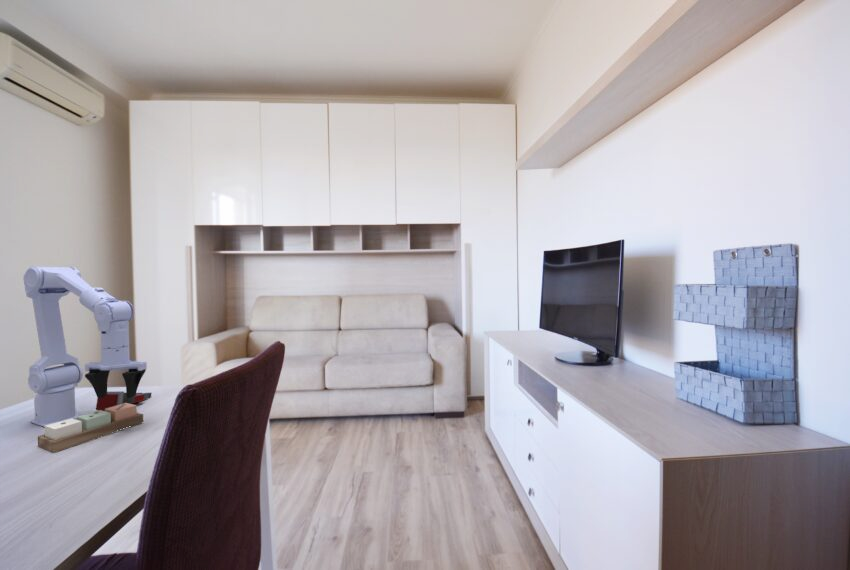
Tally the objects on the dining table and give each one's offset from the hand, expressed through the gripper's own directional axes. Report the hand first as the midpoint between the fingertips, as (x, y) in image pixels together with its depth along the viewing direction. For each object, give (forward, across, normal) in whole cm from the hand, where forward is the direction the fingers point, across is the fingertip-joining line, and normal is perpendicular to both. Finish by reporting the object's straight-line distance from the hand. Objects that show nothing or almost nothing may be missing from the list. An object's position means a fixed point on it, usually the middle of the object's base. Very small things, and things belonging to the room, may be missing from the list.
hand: (116, 396), depth 96 cm
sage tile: (+7, -4, -2) cm, 9 cm away
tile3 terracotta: (+7, -1, +3) cm, 8 cm away
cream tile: (+7, -7, -8) cm, 13 cm away
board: (+9, -4, -2) cm, 10 cm away
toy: (+9, -12, +18) cm, 24 cm away
